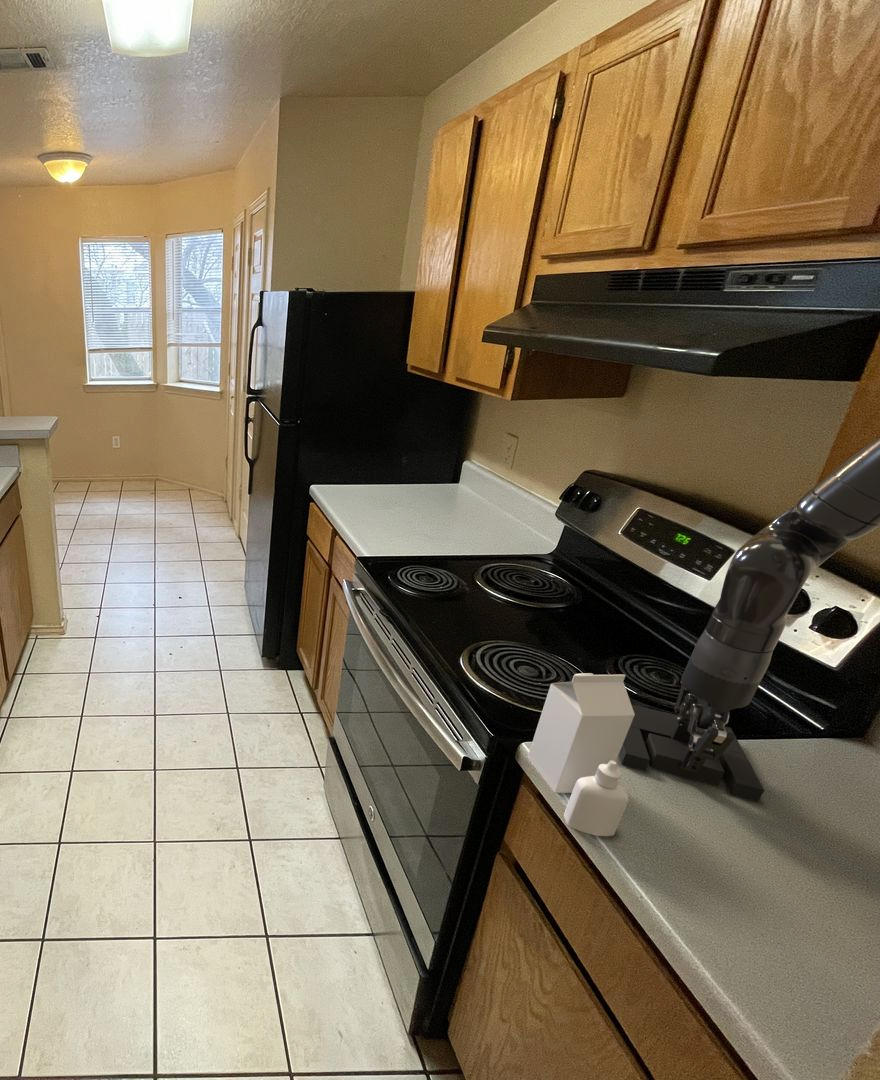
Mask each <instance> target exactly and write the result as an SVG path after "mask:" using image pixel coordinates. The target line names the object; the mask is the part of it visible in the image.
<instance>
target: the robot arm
mask: <svg viewBox="0 0 880 1080" xmlns="http://www.w3.org/2000/svg"><path fill="white" fill-rule="evenodd" d="M878 527H880V435H879V436H878V437H876V438H875V439H873V440H872V441H871V442H869V443H867V444H866V445H864V447H862V448H861V449H859V450H858V451H856V452H855V453H854V454H852V455H851V456H850V457H848V458H847V459H846V460H845V461H844V462H842V463H841V464H840V465H838V466H837V467H836V468H835V469H833V470H832V471H831V472H829V474H827V475H826V476H825V477H824V478H822V479H821V480H820V481H819V482H817V483H816V484H815V485H814V486H813V487H812V488H810V489H809V490H808V491H807V492H806V493H805V494H804V495H803V496H802V497H801V498H800V499H799V500H798V501H797V503H796V504H795V505H794V506H792V507H790V508H789V509H788V510H787V511H785V512H783V513H782V514H781V515H780V516H777V518H775V519H774V520H773V521H771V522H770V523H769V524H768V525H766V526H765V527H763V528H762V529H761V530H759V531H758V532H757V533H756V534H754V535H753V536H752V537H750V539H748V540H747V541H746V542H745V543H744V544H743V545H741V546H740V547H739V548H738V549H737V550H736V552H735V553H734V555H733V556H732V559H731V561H730V563H729V566H728V568H727V570H726V574H725V577H724V580H723V584H722V588H721V592H720V598H719V599H718V601H717V603H716V605H715V607H714V608H713V610H712V612H711V615H710V617H709V619H708V622H707V624H706V626H705V628H704V630H703V632H702V634H701V635H700V636H699V637H698V639H697V641H696V644H695V645H694V649H693V650H692V651H691V652H692V653H691V655H690V656H689V659H688V661H687V664H686V667H685V669H684V671H683V673H682V676H681V679H680V682H681V686H680V690H679V693H678V696H677V699H676V702H675V704H674V705H675V706H674V709H673V710H674V714H676V715H677V717H676V722H677V725H676V727H675V730H674V732H673V734H672V736H671V739H675V740H679V741H683V742H686V743H688V747H687V749H686V751H685V753H684V755H683V757H682V759H681V762H680V767H681V769H682V770H685V771H689V772H692V773H699V772H700V770H701V768H702V766H703V764H704V762H705V760H706V759H710V760H713V761H717V760H718V759H719V758H720V756H721V755H722V754H723V752H724V751H725V750H726V749H727V747H728V746H729V745H730V743H731V742H732V741H733V739H734V735H735V733H734V731H733V732H730V731H726V730H725V727H726V726H725V725H727V724H728V723H729V719H730V711H732V710H734V709H742V708H746V707H747V706H749V705H750V704H751V702H752V700H753V698H754V696H755V694H756V692H757V690H758V688H759V686H760V684H761V682H762V680H763V679H764V676H765V674H766V672H767V670H768V668H769V666H770V663H771V661H772V657H773V652H774V650H775V648H776V646H777V644H778V642H779V640H780V638H781V636H782V634H783V632H784V631H785V627H786V625H787V623H788V622H787V621H788V613H789V611H790V609H791V608H792V606H793V604H794V603H795V601H796V599H797V598H798V595H799V593H800V592H801V590H802V588H803V587H804V585H805V584H806V582H807V580H808V579H809V578H810V576H811V575H812V573H814V571H815V570H817V568H819V567H820V566H821V565H822V564H823V563H825V561H827V560H828V559H829V558H831V557H832V556H833V555H835V554H836V553H837V552H839V551H840V550H842V549H843V548H844V547H845V546H846V545H848V544H849V543H850V542H852V541H853V540H857V539H860V538H862V537H863V536H865V535H868V534H870V533H871V532H873V531H874V530H875V529H877V528H878ZM724 726H725V727H724ZM696 727H697V728H698V727H699V728H702V729H705V730H704V732H703V731H699V730H696ZM698 738H701V739H700V740H699V742H698V743H697V740H698Z"/></svg>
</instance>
